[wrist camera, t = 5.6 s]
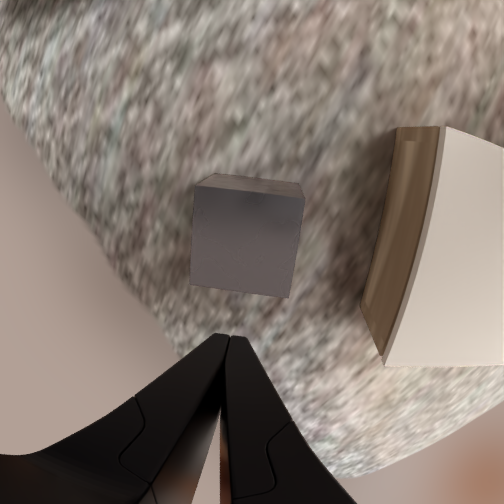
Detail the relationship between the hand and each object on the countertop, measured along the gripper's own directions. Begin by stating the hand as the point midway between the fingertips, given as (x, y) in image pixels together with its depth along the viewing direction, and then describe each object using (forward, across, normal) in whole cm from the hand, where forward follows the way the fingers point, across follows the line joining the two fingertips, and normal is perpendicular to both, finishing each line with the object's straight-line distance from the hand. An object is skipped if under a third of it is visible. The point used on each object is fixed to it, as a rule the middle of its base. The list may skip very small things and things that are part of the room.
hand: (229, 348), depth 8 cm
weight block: (+13, 0, 0) cm, 13 cm away
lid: (+6, -15, -1) cm, 16 cm away
